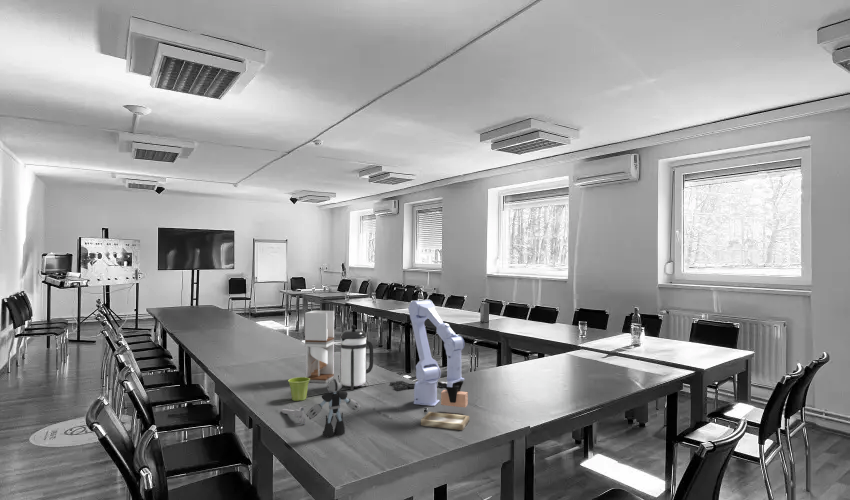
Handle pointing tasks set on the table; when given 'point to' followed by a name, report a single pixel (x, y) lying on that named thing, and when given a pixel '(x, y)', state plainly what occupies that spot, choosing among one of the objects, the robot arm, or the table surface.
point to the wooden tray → (445, 420)
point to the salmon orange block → (460, 399)
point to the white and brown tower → (319, 345)
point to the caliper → (296, 414)
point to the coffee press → (354, 358)
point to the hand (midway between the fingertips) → (454, 400)
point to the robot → (333, 408)
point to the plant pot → (299, 388)
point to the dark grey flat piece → (409, 385)
